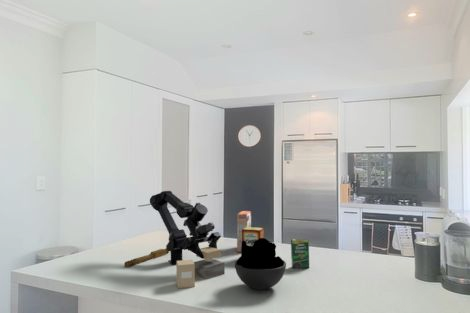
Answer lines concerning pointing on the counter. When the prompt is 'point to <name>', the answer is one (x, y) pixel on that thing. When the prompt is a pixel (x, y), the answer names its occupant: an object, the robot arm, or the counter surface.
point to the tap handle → (146, 257)
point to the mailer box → (185, 274)
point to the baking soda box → (252, 235)
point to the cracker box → (242, 226)
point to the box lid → (210, 253)
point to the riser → (209, 268)
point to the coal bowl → (260, 265)
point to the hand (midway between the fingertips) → (210, 256)
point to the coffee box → (300, 253)
